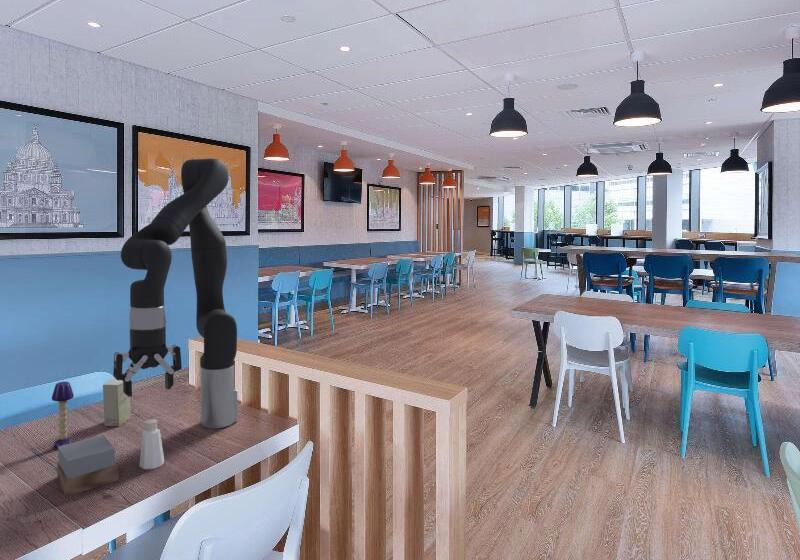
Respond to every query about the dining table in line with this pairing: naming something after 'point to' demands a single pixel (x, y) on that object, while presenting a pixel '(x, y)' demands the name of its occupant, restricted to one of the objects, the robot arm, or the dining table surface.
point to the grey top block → (86, 456)
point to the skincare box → (115, 403)
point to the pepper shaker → (151, 446)
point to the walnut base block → (87, 479)
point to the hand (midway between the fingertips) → (149, 392)
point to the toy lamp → (62, 410)
